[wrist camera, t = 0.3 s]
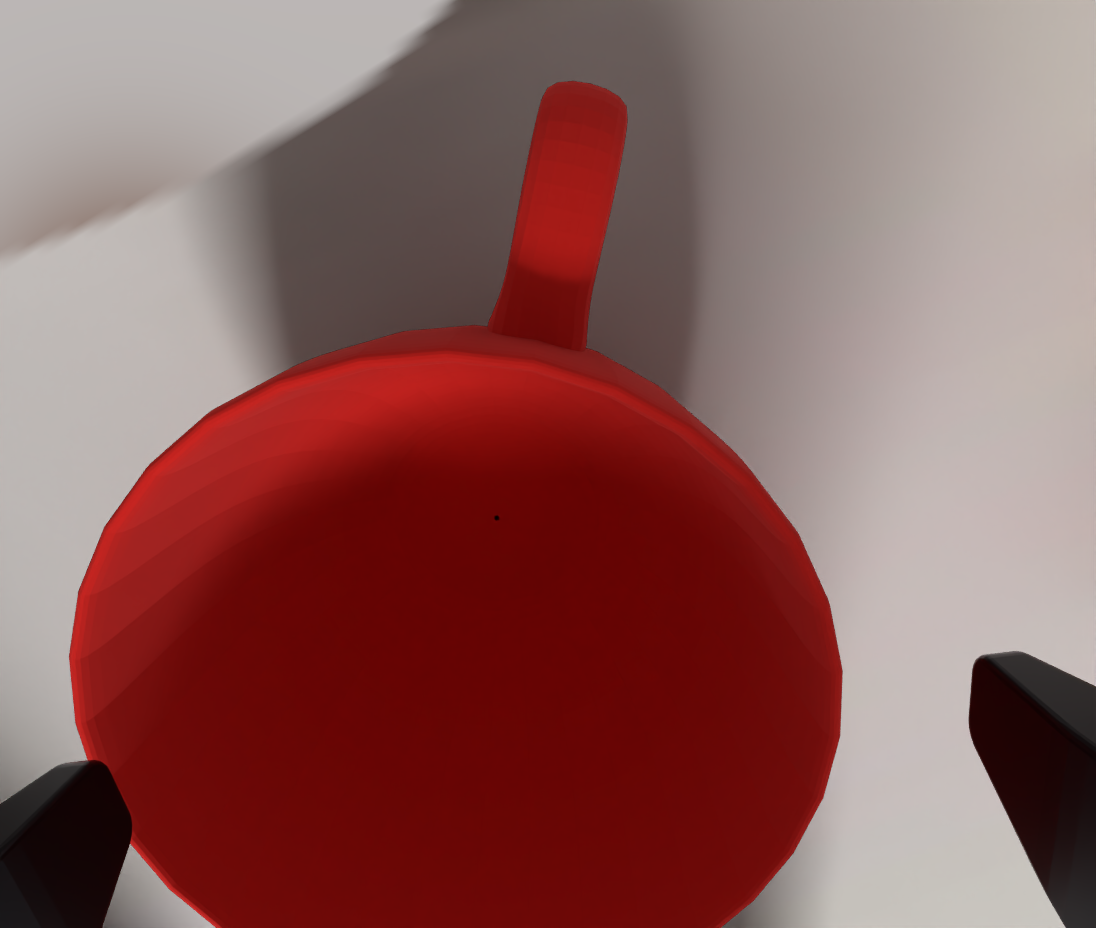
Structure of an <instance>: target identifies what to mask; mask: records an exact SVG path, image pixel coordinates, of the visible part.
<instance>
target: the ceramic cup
mask: <svg viewBox="0 0 1096 928" xmlns="http://www.w3.org/2000/svg"><path fill="white" fill-rule="evenodd" d="M626 130H627V107H626V105H625V104H624V102H623V101H622V100H621V98H620V97H619V96H617V95H616V94H614V93H612V92H611V91H609V90H607V89H605V88H602V87H599V86H596V85H593V84H590V83H583V82H576V81H568V82H558V83H556V84H554V85H552V86H550V87H548V88H547V90H546V92H545V94H544V95H543V97H542V100H541V103H540V107H539V111H538V114H537V119H536V123H535V127H534V132H533V136H532V141H531V145H530V150H529V155H528V160H527V165H526V170H525V175H524V180H523V185H522V191H521V196H520V201H519V207H518V212H517V217H516V223H515V229H514V234H513V240H512V245H511V251H510V256H509V261H508V266H507V270H506V275H505V279H504V282H503V286H502V289H501V292H500V295H499V298H498V301H497V303H496V306H495V308H494V311H493V313H492V316H491V318H490V319H489V322H488V327H487V326H478V325H469V326H458V327H446V328H434V329H423V330H411V331H403V332H399V333H396V334H392V335H389V336H385V337H382V338H378V339H375V340H371V341H368V342H365V343H361V344H358V345H354V346H351V347H347V348H344V349H340V350H337V351H333V352H330V353H327V354H324V355H321V356H318V357H315V358H313V359H310V360H308V361H305V362H303V363H301V364H298V365H296V366H294V367H292V368H290V369H288V370H286V371H284V372H282V373H281V374H279V375H277V376H275V377H273V378H271V379H269V380H267V381H266V382H264V383H262V384H260V385H258V386H256V387H254V388H252V389H251V390H249V391H247V392H245V393H243V394H241V395H239V396H237V397H236V398H234V399H232V400H230V401H228V402H226V403H224V404H222V405H221V406H219V407H217V408H215V409H213V410H212V411H210V412H209V413H208V414H206V415H205V416H204V417H203V418H202V419H201V420H200V421H198V422H197V423H196V424H195V425H194V426H193V427H192V428H190V429H189V430H188V431H187V432H186V433H185V434H184V435H182V436H181V437H180V438H179V439H178V440H177V441H176V442H174V443H173V444H172V445H171V446H170V447H169V448H168V449H166V450H165V451H164V452H163V453H162V454H161V455H160V456H158V457H157V458H156V459H155V460H154V461H153V462H152V463H150V464H149V466H148V467H147V468H146V469H145V471H144V472H143V474H142V475H141V476H140V478H139V479H138V481H137V482H136V483H135V485H134V486H133V488H132V489H131V490H130V492H129V493H128V495H127V496H126V497H125V499H124V500H123V502H122V503H121V504H120V506H119V507H118V509H117V510H116V511H115V513H114V514H113V516H112V517H111V518H110V520H109V521H108V523H107V524H106V526H105V527H104V529H103V532H102V534H101V537H100V539H99V542H98V544H97V547H96V549H95V552H94V554H93V556H92V559H91V561H90V564H89V566H88V569H87V571H86V574H85V576H84V579H83V581H82V584H81V586H80V589H79V591H78V598H77V605H76V612H75V619H74V626H73V633H72V639H71V646H70V653H69V662H70V672H71V682H72V692H73V702H74V713H75V723H76V726H77V729H78V732H79V735H80V738H81V741H82V744H83V747H84V750H85V753H86V756H87V759H88V760H98V761H101V762H103V763H104V764H105V765H107V767H108V768H109V770H110V772H111V774H112V776H113V778H114V780H115V782H116V784H117V786H118V789H119V791H120V793H121V795H122V797H123V799H124V801H125V803H126V805H127V808H128V810H129V812H130V815H131V818H132V837H131V841H130V844H131V845H132V846H133V847H134V848H135V850H136V851H137V852H138V853H139V854H140V855H141V857H142V858H143V859H144V860H145V861H146V863H147V864H148V865H149V866H150V867H151V868H152V870H153V871H154V872H155V873H156V874H157V875H158V877H159V878H160V879H161V880H162V881H163V883H164V884H165V885H166V886H167V887H168V888H169V889H170V890H171V891H172V892H173V893H174V894H176V895H177V896H178V897H179V898H181V899H182V900H183V901H184V902H185V903H187V904H188V905H189V906H190V907H192V908H193V909H194V910H195V911H196V912H198V913H199V914H200V915H201V916H202V917H204V918H205V919H206V920H207V921H209V922H210V923H211V924H212V925H213V926H215V927H216V928H721V927H722V926H723V925H725V924H726V923H727V922H728V921H730V920H731V919H732V918H733V917H734V916H736V915H737V914H738V913H739V912H740V911H742V910H743V909H744V908H745V907H747V906H748V905H749V904H750V903H751V902H753V901H754V900H755V898H756V897H757V896H758V895H759V894H760V892H761V891H762V890H763V889H764V888H765V886H766V885H767V884H768V883H769V882H770V880H771V879H772V878H773V877H774V876H775V874H776V873H777V872H778V871H779V870H780V869H781V867H782V866H783V865H784V864H785V863H786V861H787V860H788V859H789V858H790V857H791V855H792V854H793V853H794V851H795V849H796V847H797V845H798V844H799V842H800V840H801V838H802V836H803V834H804V832H805V831H806V829H807V827H808V825H809V823H810V821H811V819H812V818H813V816H814V814H815V812H816V810H817V808H818V806H819V804H820V803H821V801H822V799H823V797H824V793H825V790H826V786H827V782H828V779H829V775H830V771H831V768H832V764H833V760H834V757H835V753H836V749H837V746H838V742H839V738H840V726H841V699H842V673H843V671H842V666H841V660H840V655H839V650H838V645H837V640H836V634H835V629H834V624H833V619H832V614H831V608H830V604H829V601H828V598H827V596H826V594H825V592H824V589H823V587H822V585H821V583H820V581H819V578H818V576H817V574H816V572H815V569H814V567H813V565H812V563H811V560H810V558H809V556H808V554H807V551H806V549H805V547H804V545H803V543H802V540H801V538H800V536H799V534H798V532H797V531H796V529H795V528H794V527H793V525H792V524H791V523H790V521H789V520H788V519H787V517H786V516H785V515H784V513H783V512H782V511H781V510H780V508H779V507H778V506H777V504H776V503H775V502H774V500H773V499H772V498H771V496H770V495H769V494H768V492H767V491H766V490H765V489H764V487H763V486H762V485H761V483H760V482H759V481H758V479H757V478H756V477H755V475H754V474H753V473H752V471H751V470H750V469H749V468H748V466H747V465H746V464H745V463H744V462H743V460H742V459H741V458H740V457H739V456H738V455H737V454H736V453H735V452H734V451H733V450H732V449H731V448H730V447H729V446H728V445H727V444H726V443H725V442H724V441H722V440H721V439H720V438H719V437H718V436H717V435H716V434H714V433H713V432H712V431H711V430H710V429H709V428H707V427H706V426H705V425H704V424H703V423H702V422H700V421H699V420H698V419H697V418H696V417H695V416H693V415H692V414H691V413H690V412H689V411H688V410H686V409H685V408H684V407H683V406H682V405H681V404H679V403H678V402H677V401H676V400H675V399H674V398H672V397H671V396H670V395H669V394H668V393H667V392H665V391H664V390H663V389H662V388H660V387H659V386H658V385H656V384H654V383H652V382H651V381H649V380H647V379H645V378H643V377H642V376H640V375H638V374H636V373H635V372H633V371H631V370H629V369H627V368H626V367H624V366H622V365H620V364H618V363H617V362H615V361H613V360H611V359H610V358H608V357H606V356H604V355H602V354H601V353H599V352H597V351H594V350H591V349H588V348H586V344H587V328H588V317H589V309H590V302H591V296H592V291H593V286H594V281H595V277H596V272H597V268H598V263H599V259H600V255H601V251H602V246H603V242H604V238H605V233H606V229H607V225H608V220H609V216H610V211H611V207H612V202H613V198H614V193H615V189H616V184H617V179H618V174H619V170H620V165H621V159H622V154H623V149H624V143H625V137H626Z"/></svg>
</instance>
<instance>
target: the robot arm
mask: <svg viewBox="0 0 1096 928" xmlns="http://www.w3.org/2000/svg"><path fill="white" fill-rule="evenodd" d="M969 730H970V734H971V738H972V741H973V744H974V746H975V749H976V751H977V753H978V755H979V757H980V759H981V761H982V763H983V765H984V767H985V769H986V771H987V773H988V776H989V778H990V780H991V782H992V784H993V786H994V788H995V790H996V792H997V794H998V796H999V798H1000V800H1001V803H1002V805H1003V807H1004V809H1005V811H1006V813H1007V815H1008V817H1009V819H1010V821H1011V823H1012V825H1013V828H1014V830H1015V832H1016V834H1017V836H1018V838H1019V840H1020V842H1021V844H1022V846H1023V848H1024V850H1025V852H1026V855H1027V857H1028V859H1029V861H1030V863H1031V865H1032V867H1033V869H1034V871H1035V873H1036V875H1037V877H1038V879H1039V881H1040V883H1041V885H1042V887H1043V889H1044V891H1045V893H1046V895H1047V896H1048V898H1049V900H1050V901H1051V903H1052V905H1053V907H1054V908H1055V910H1056V912H1057V914H1058V915H1059V917H1060V919H1061V920H1062V922H1063V924H1064V925H1065V927H1066V928H1096V686H1094V685H1092V684H1089V683H1087V682H1085V681H1083V680H1081V679H1079V678H1077V677H1075V676H1073V675H1071V674H1069V673H1066V672H1064V671H1062V670H1060V669H1058V668H1056V667H1054V666H1052V665H1050V664H1048V663H1045V662H1043V661H1041V660H1039V659H1037V658H1035V657H1033V656H1031V655H1029V654H1026V653H1024V652H1019V651H1011V652H1003V653H995V654H986V655H982V656H980V657H978V658H977V659H976V660H975V663H974V665H973V670H972V682H971V695H970V707H969ZM131 837H132V818H131V815H130V812H129V810H128V808H127V805H126V803H125V801H124V799H123V797H122V795H121V793H120V791H119V789H118V786H117V784H116V782H115V780H114V778H113V776H112V774H111V772H110V770H109V768H108V767H107V765H105V764H104V763H103V762H101V761H98V760H87V761H79V762H70V763H65V764H61V765H58V766H56V767H54V768H53V769H51V770H50V771H48V772H47V773H45V774H44V775H42V776H41V777H40V778H38V779H37V780H35V781H34V782H32V783H31V784H29V785H28V786H26V787H25V788H23V789H22V790H20V791H19V792H17V793H16V794H15V795H13V796H12V797H10V798H9V799H7V800H6V801H4V802H3V803H1V804H0V928H102V926H103V923H104V920H105V917H106V914H107V911H108V908H109V905H110V902H111V899H112V896H113V893H114V890H115V887H116V884H117V881H118V878H119V875H120V872H121V869H122V866H123V863H124V860H125V857H126V854H127V851H128V848H129V845H130V841H131Z"/></svg>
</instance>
